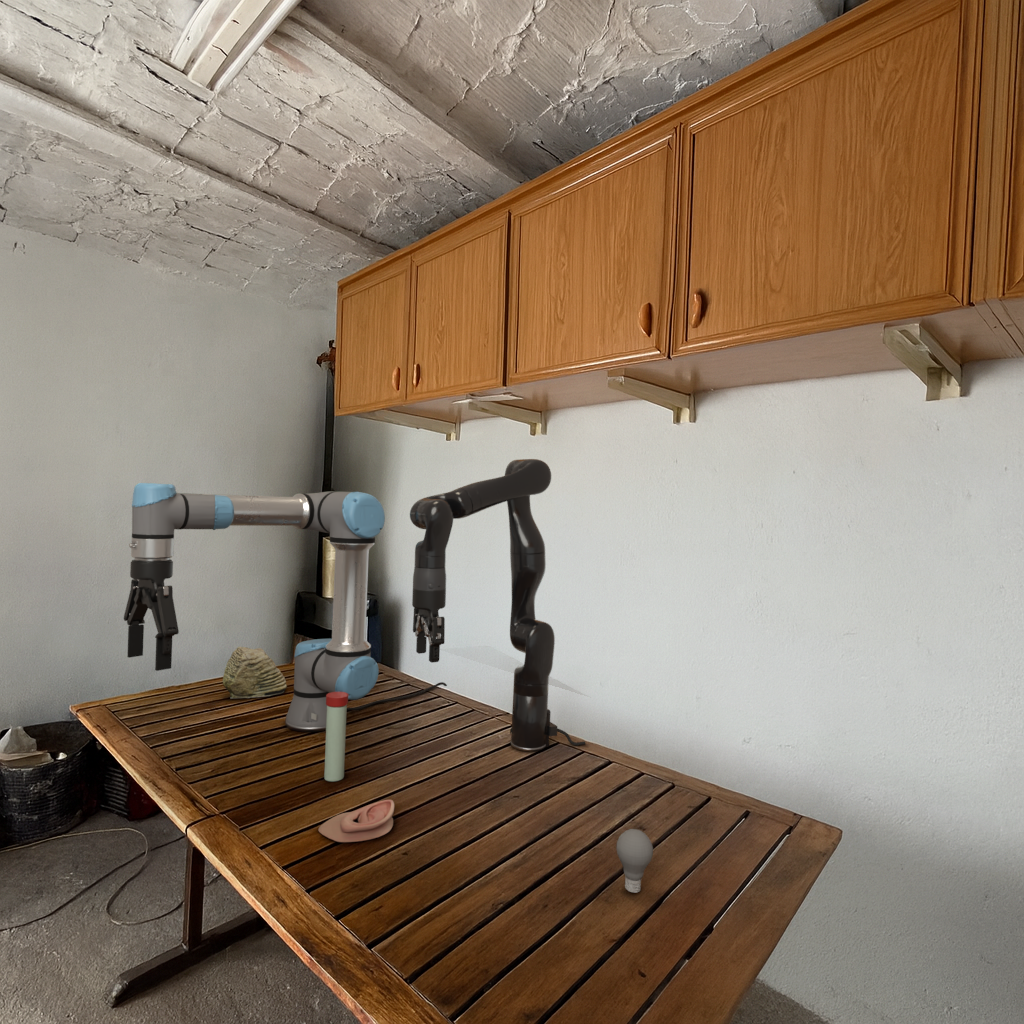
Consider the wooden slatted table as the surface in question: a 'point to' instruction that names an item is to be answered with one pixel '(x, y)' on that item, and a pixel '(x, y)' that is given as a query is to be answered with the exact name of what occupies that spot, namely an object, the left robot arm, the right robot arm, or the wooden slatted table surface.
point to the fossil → (252, 674)
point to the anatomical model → (360, 823)
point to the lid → (337, 699)
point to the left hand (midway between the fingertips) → (148, 662)
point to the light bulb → (634, 857)
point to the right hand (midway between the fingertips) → (427, 657)
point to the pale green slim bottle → (335, 743)
